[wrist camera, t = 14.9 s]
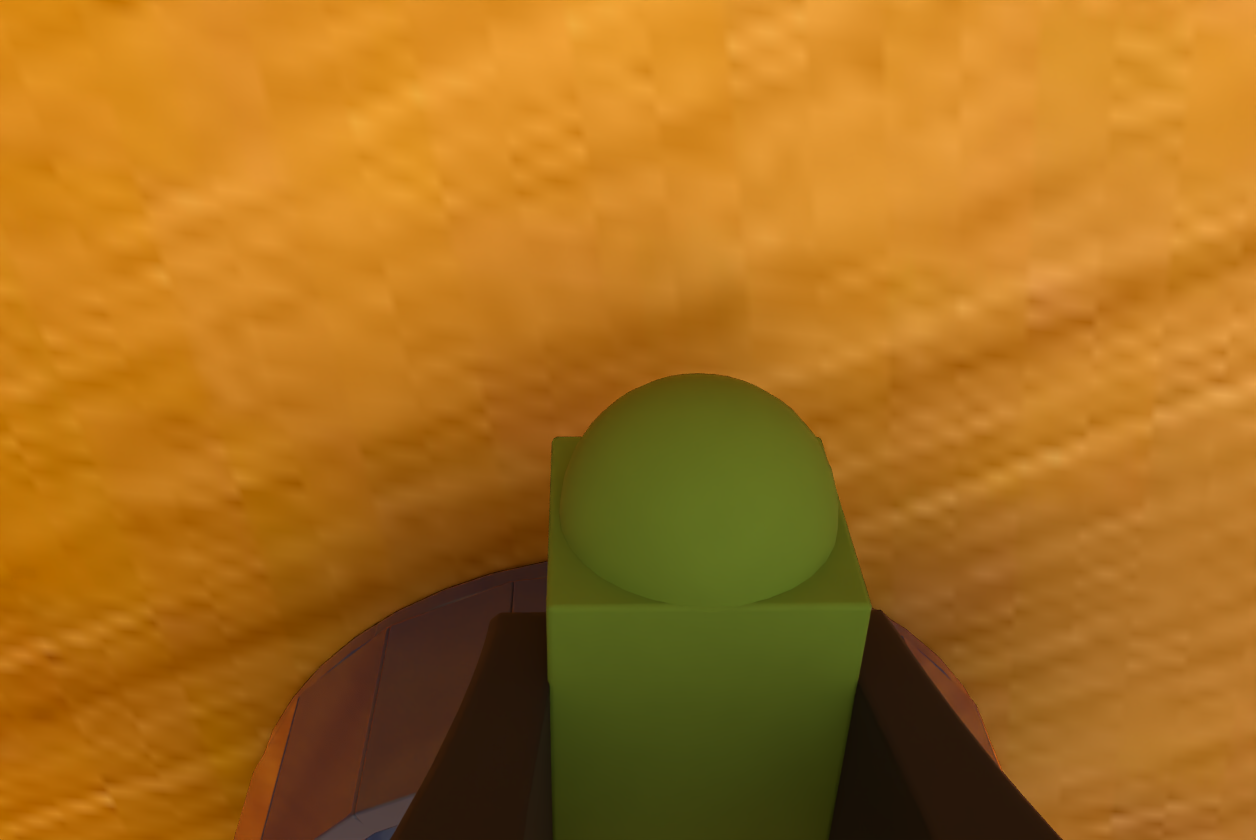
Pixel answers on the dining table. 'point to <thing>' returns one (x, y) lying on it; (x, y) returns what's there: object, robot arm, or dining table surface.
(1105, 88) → the dining table surface
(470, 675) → the pan
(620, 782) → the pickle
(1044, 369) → the dining table surface
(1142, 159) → the dining table surface
